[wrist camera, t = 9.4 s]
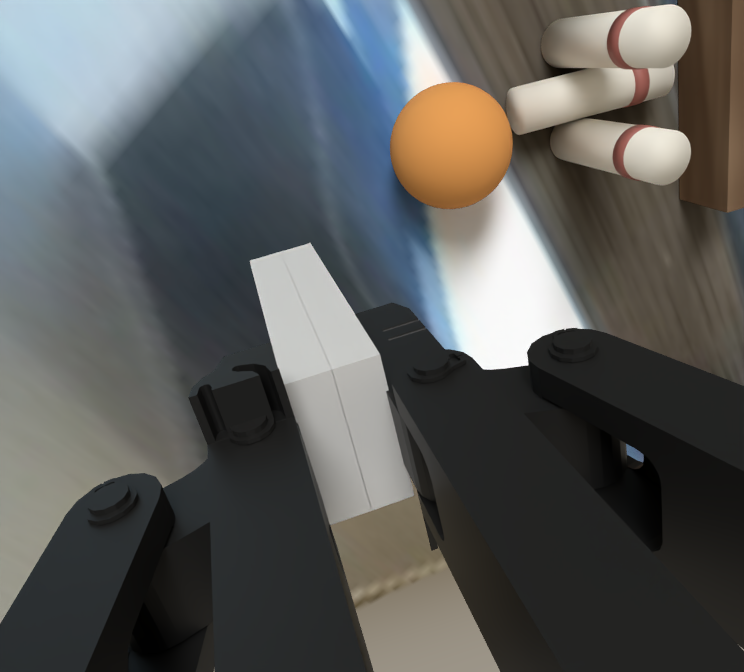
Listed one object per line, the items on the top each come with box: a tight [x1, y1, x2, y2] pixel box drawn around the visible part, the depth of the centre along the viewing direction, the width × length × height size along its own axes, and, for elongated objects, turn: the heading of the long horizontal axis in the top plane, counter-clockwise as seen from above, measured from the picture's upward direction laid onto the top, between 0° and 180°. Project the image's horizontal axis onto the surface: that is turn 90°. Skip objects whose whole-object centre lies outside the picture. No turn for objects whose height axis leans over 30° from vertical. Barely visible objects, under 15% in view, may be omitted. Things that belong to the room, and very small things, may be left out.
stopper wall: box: [678, 0, 744, 213], centre depth 34 cm, size 2×16×4 cm, turn 13°
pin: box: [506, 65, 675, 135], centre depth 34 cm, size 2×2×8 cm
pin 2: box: [550, 118, 691, 185], centre depth 32 cm, size 2×2×8 cm
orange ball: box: [390, 82, 513, 209], centre depth 32 cm, size 6×6×6 cm
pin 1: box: [541, 4, 691, 70], centre depth 30 cm, size 2×2×8 cm
